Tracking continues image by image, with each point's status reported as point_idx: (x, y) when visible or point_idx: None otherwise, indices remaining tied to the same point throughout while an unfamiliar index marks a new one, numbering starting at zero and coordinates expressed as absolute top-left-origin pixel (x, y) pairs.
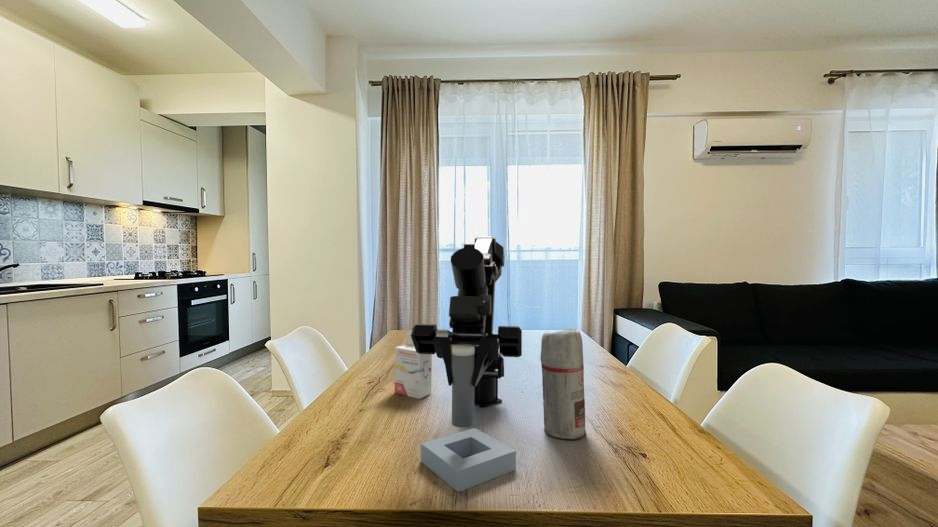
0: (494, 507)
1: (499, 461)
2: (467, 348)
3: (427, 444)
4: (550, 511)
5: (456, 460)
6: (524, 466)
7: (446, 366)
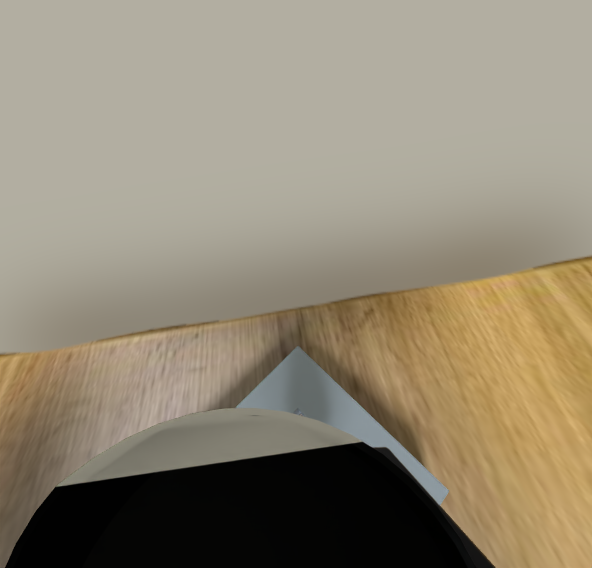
0: (233, 326)
1: None
2: (110, 450)
3: (424, 485)
4: (145, 332)
5: (311, 393)
6: None
7: (472, 552)
